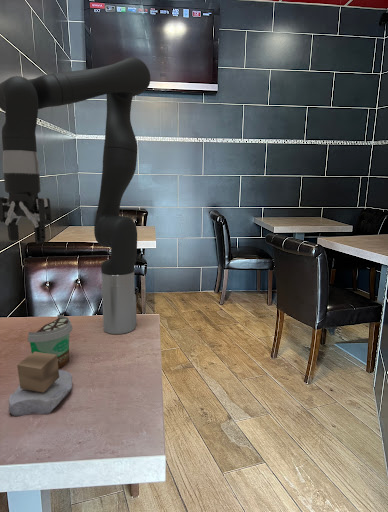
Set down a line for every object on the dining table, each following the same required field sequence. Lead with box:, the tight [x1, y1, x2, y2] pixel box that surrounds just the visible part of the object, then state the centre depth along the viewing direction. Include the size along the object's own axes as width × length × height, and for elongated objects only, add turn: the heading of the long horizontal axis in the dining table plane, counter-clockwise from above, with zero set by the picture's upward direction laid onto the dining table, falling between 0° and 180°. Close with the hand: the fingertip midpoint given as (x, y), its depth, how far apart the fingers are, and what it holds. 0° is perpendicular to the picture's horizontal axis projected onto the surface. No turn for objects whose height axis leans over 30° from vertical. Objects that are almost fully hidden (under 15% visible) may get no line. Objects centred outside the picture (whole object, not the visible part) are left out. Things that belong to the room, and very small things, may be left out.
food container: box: [27, 314, 73, 370], centre depth 85 cm, size 12×6×10 cm, turn 168°
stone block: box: [8, 369, 73, 417], centre depth 72 cm, size 12×5×10 cm
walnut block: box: [16, 352, 60, 393], centre depth 70 cm, size 5×5×5 cm
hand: (26, 241), depth 87 cm, fingers open, 8 cm apart
